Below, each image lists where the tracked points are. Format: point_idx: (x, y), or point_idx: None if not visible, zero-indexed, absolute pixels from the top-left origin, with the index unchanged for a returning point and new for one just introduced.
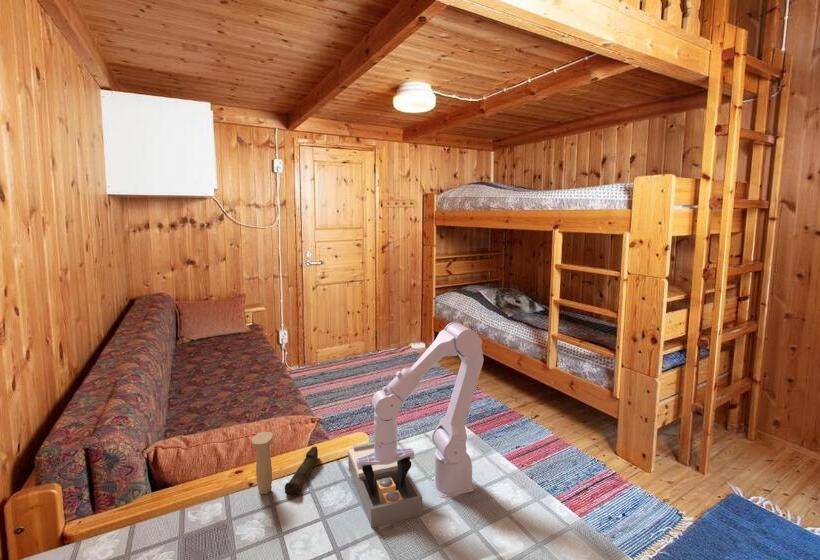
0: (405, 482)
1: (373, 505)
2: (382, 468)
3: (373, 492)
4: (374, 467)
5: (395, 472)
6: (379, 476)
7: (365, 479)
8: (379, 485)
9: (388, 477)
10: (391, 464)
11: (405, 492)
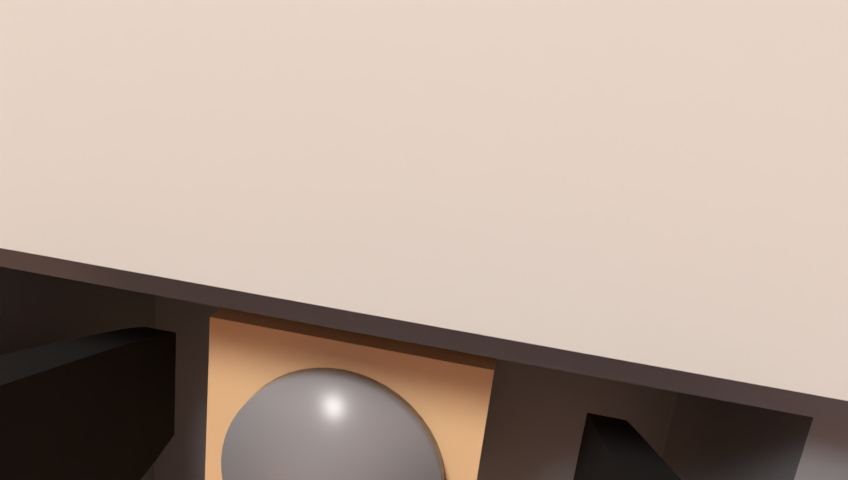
0: (718, 453)
1: None
2: (319, 284)
3: (150, 458)
4: (146, 148)
5: (620, 374)
6: (269, 309)
7: (12, 267)
8: (218, 475)
9: (441, 367)
10: (623, 235)
11: (665, 403)
